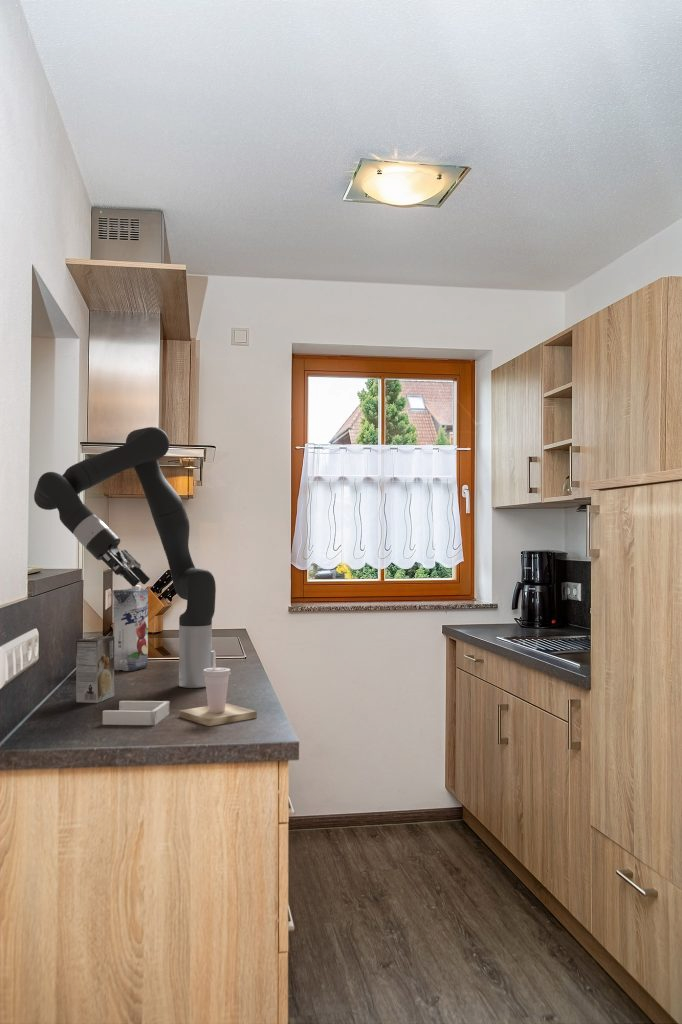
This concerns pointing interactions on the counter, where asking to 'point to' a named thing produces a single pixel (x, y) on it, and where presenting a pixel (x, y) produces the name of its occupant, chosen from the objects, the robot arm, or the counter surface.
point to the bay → (137, 713)
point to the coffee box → (94, 669)
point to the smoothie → (216, 686)
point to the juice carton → (130, 628)
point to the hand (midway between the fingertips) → (142, 582)
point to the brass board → (217, 715)
